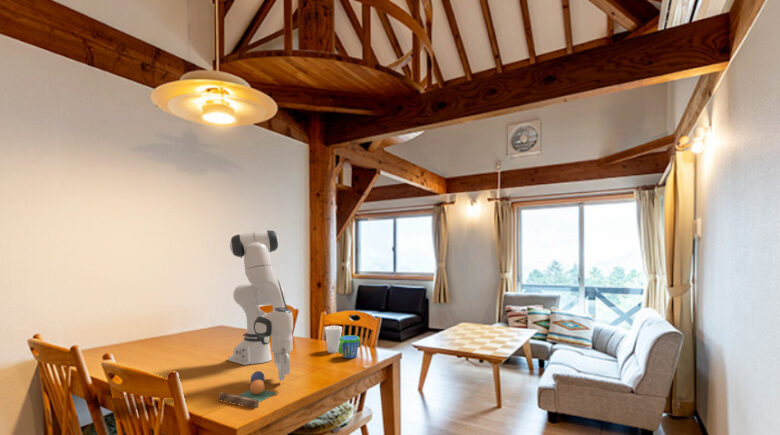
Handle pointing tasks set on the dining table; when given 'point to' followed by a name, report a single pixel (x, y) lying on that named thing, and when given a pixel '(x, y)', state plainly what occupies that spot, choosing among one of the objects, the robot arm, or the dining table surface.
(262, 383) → the orange ball
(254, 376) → the blue ball
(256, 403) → the rail
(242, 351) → the robot arm
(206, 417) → the dining table surface
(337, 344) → the foam cup
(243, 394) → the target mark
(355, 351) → the snack cup
